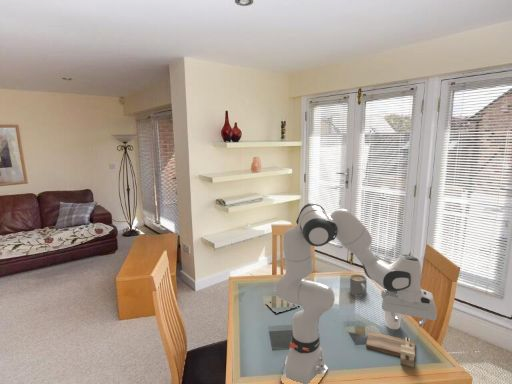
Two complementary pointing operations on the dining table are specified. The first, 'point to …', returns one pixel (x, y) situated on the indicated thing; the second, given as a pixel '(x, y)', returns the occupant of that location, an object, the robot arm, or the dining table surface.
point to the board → (387, 343)
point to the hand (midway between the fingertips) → (408, 323)
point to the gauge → (407, 354)
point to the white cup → (392, 320)
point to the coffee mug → (358, 285)
